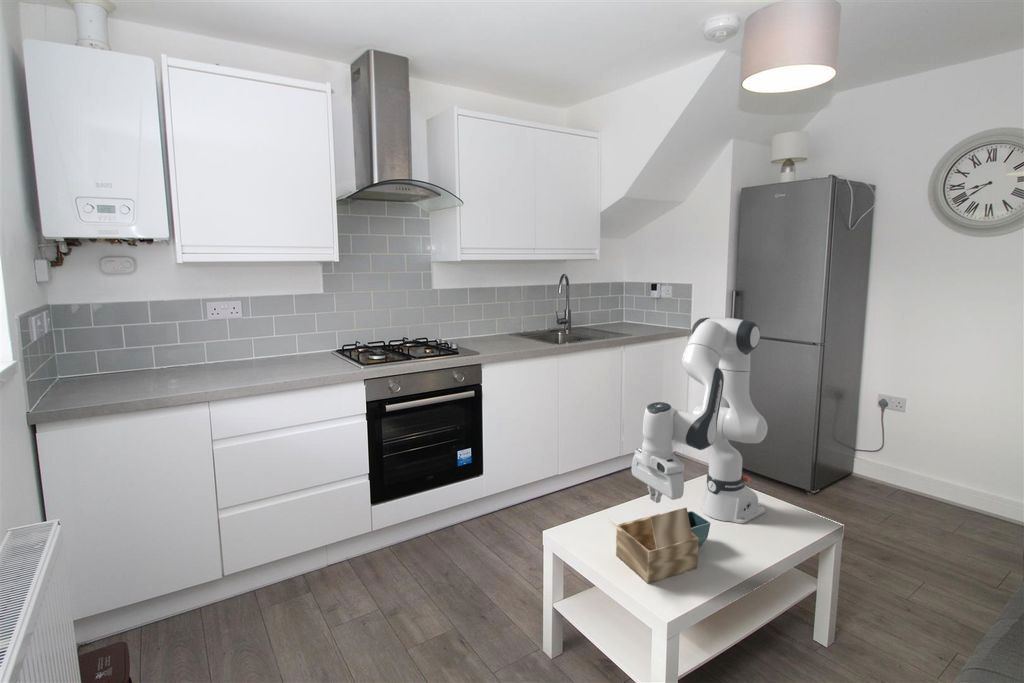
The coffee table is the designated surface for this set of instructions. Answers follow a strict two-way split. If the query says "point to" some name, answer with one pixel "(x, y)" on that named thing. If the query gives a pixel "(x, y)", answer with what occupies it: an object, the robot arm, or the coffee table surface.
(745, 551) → the coffee table surface
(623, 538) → the open wooden box
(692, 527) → the flower pot
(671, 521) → the flap left
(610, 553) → the coffee table surface
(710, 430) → the robot arm
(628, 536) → the flap front
